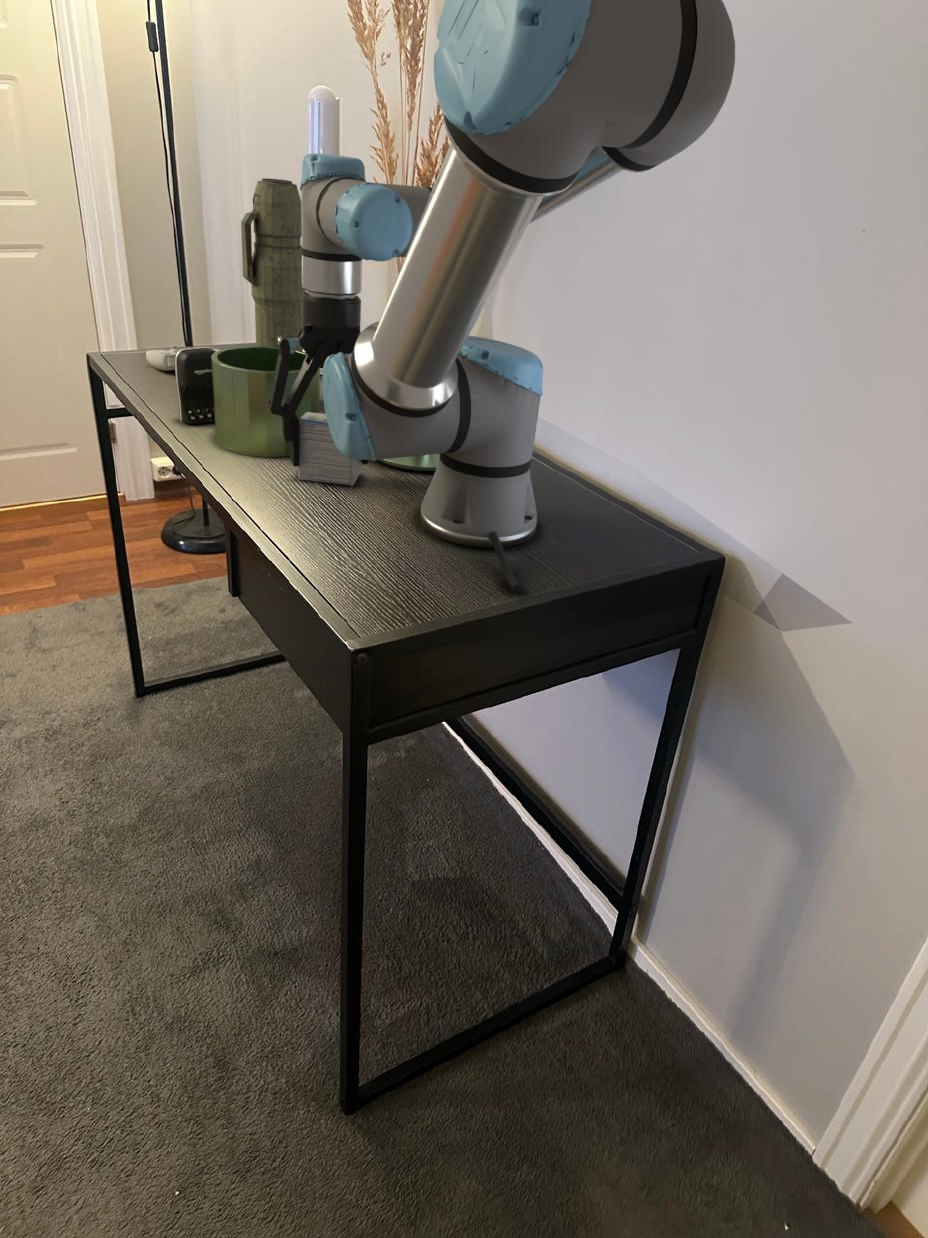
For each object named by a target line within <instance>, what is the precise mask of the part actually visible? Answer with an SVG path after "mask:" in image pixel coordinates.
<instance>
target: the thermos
mask: <svg viewBox="0 0 928 1238" xmlns="http://www.w3.org/2000/svg"><path fill="white" fill-rule="evenodd" d="M252 223H253V225H252ZM252 226H253V233H254V242H252ZM240 230H241V231H240V232H241V233H240V234H241V256H242V259H241V260H242V261H241V262H242V277H243V278H244V279H245V280H246V281H247V282H248V283H250V284H251V296H252V299H253V301H254V316H255V318H254V319H255V321H254V323H255V346H270V347H278V344H277V338H278V336H280V335H283V336H285V337H292V336H298V335H299V333H300V331H301V328H302V295H303V293H304V292H307V290H305V289H304V288H303V287H302V226H301V194H300V192H299V188H298V185H297V184H295V183H293V181H292V180H288V179H281V178H280V179H279V178H261V180H257V181H256V185H255V189H254V193H253V197H252V209H251V212H246V213H244V216H243V218H242V220H241V221H240ZM252 243H253V244H252ZM252 245H253V246H252ZM296 350H299V351H302V352H304V350H303V348H302V347H301V345H299V346H297V347H296Z"/></svg>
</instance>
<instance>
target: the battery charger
mask: <svg viewBox="0 0 928 1238" xmlns="http://www.w3.org/2000/svg"><path fill="white" fill-rule="evenodd" d="M213 349H214V348H212V347H209V346H197V347H186V348H181V349H179V351H178V352H177V353H176V355H175V369H174V376H175V385H176V386H175V387H176V392H177V393H176V394H177V400H178V417H179V420H180V421H181V422H182V423H186V424H189V425H199V424H207V423H208V424H209V423H213V422H214V423H215V413H214V396H213V378H212V361H211V356H212V355H213V354H214V353H215V352H216V351H214V350H213Z"/></svg>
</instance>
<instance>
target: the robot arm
mask: <svg viewBox="0 0 928 1238" xmlns="http://www.w3.org/2000/svg"><path fill="white" fill-rule="evenodd" d="M439 17H440V18H439V22H438V26H437V31H436V38H437V39H438V41H439V44H438V48H437V50H436V51H435V52H434V53H433V79H434V80H433V81H434V89H435V94H436V99H437V101H438V104H439V107H440V109H441V111H442V122H443V127H444V130H445V133H446V135H447V137H448V139H449V142H450V144H449V146H448V149H447V150H446V151H447V152H446V154H445V156H444V159H443V162H442V164H441V166H440V169H439V172H438V174H437V177H436V179H435V182H434V184H433V186H420V185H419V186H418V185H407V184H394V183H379V182H369V181H367V180H366V169H365V164H364V162H363V161H362V160H361V159H360V158H357V157H352V156H344V155H338V154H337V155H336V154H327V153H326V154H325V153H309V154H306V155H305V156H304V157H303V159H302V163H301V177H300V183H299V191H300V199H301V226H302V237H301V246H302V287H303V288H304V289H305V290H306V292H304V293H303V295H302V328H301V331H300V333H299V335H298V336H292V337H285V336H283V335H280V336H278V338H277V344H278V351H279V355H278V360H277V364H276V369H275V374H274V378H273V383H272V388H271V392H270V397H269V402H268V407H269V409H270V411H271V413H272V414H274V415H279V416H281V417H282V435H283V437H284V439H285V441H290V456H289V457H290V462H291V464H292V466H293V467H298V466H299V419H298V417H297V416H296V414H295V412H296V410H297V408H298V406H299V404H300V402H301V400H302V398H303V396H304V394H305V392H306V390H307V388H308V386H309V384H310V382H311V380H312V378H313V376H314V375H315V374H316V373H317V371H318V369H319V367H320V370H322V373H321V375H322V376H321V384H322V385H321V386H322V398H323V407H324V411H325V414H326V417H327V422H328V426H329V429H330V433H331V436H332V438H333V441H334V443H335V445H336V447H337V449H338V450H339V452H340V453H341V454H342V455H343V456H345V457H346V458H348V459H350V460H359V462H361V464H362V465H368V464H369V461H371V462H375V461H378V460H379V459H389V458H400V457H410V456H421V455H431V454H440V456H439V464H438V467H437V469H436V471H434V473H433V476H425V487H426V486H428V488H427V490H426V492H425V495H424V497H423V499H422V503H421V506H420V518H419V519H420V524H421V525H422V526H423V527H424V529H425V530H426V531H428V532H429V533H430V534H432V535H433V536H436V537H437V538H440V539H442V540H445V541H446V542H450V543H453V544H457V545H459V546H465V547H470V548H471V547H472V548H481V549H494V551H495V553H496V556H497V558H498V562H499V564H500V568H501V569H502V572H503V575H504V577H505V580H506V582H507V583H508V585H509V586H510V588H511V590H512V592H513V593H518V592H520V591H521V586H520V584H519V582H518V580H517V579H516V577H515V575H514V572H513V571H512V568H511V566H510V564H509V559H508V558H507V555H506V553H505V549H504V548H508V547H514V546H518V545H521V544H523V543H525V542H528V541H529V540H530V539H531V538H533V537H534V535H535V534H536V531H537V524H538V512H537V506H536V500H535V496H534V490H533V485H532V478H531V467H532V461H533V460H532V459H533V454H534V453H533V452H534V445H535V439H536V432H537V425H538V419H539V411H540V404H541V397H542V396H543V394H544V392H543V383H544V382H543V381H544V380H543V379H544V365H543V362H542V360H541V358H540V357H539V356H538V355H537V354H535V353H534V352H532V351H530V350H528V349H526V348H523V347H521V346H517V345H514V344H512V343H508V342H504V341H500V340H496V339H493V338H492V339H491V338H487V337H483V336H482V337H481V336H476V335H470V334H471V332H472V330H473V328H474V326H475V325H476V323H477V321H478V319H479V317H480V315H481V313H482V312H483V310H484V308H485V306H486V304H487V302H488V301H489V299H490V297H491V295H492V293H493V291H494V289H495V288H496V286H497V284H498V282H499V281H500V278H501V277H502V275H503V273H504V271H505V269H506V268H507V266H508V264H509V262H510V260H511V259H512V256H513V255H514V252H515V250H516V249H517V247H518V245H519V244H520V242H521V239H522V238H523V236H524V234H525V232H526V230H527V229H528V226H529V225H531V224H533V223H535V222H537V221H538V220H540V219H542V218H543V217H545V216H547V215H549V214H550V213H552V212H554V211H555V210H558V209H559V208H561V207H562V206H565V205H566V204H568V203H570V202H571V201H573V200H575V199H577V198H578V197H580V196H582V195H583V194H585V193H587V192H588V191H591V190H592V189H594V188H595V187H598V186H600V185H601V184H603V183H604V182H607V181H609V180H610V179H611V178H613V177H615V176H616V175H618V174H620V173H621V172H623V171H627V172H630V173H644V172H648V171H650V170H652V169H654V168H655V167H657V166H660V165H661V164H663V163H664V162H665V163H666V161H668V160H670V159H672V158H673V157H675V156H677V155H678V154H681V153H682V152H683V151H684V150H686V149H687V148H688V147H690V146H691V145H693V144H694V143H695V142H697V141H698V140H699V138H701V137H702V136H703V135H704V134H705V132H706V131H707V130H708V129H709V128H710V127H711V126H712V124H713V123H714V121H715V119H716V118H717V116H718V115H719V113H720V111H721V109H722V107H723V106H724V104H725V103H726V100H727V97H728V94H729V91H730V89H731V86H732V82H733V77H734V71H735V64H736V40H735V34H734V29H733V28H734V27H733V23H732V20H731V18H730V15H729V13H728V10H727V8H726V6H725V3H724V1H723V0H445V2H444V4H443V8H442V11H441V14H440V16H439ZM395 258H404V260H403V262H402V265H401V267H400V269H399V272H398V275H397V278H396V280H395V282H394V285H393V288H392V290H391V293H390V295H389V298H388V300H387V303H386V305H385V307H384V310H383V313H382V316H381V318H380V320H378V321H375V322H373V323H371V324H369V325H368V326H366V327H365V328H364V329H363V330H362V331H361V320H362V318H361V317H362V300H361V298H360V296H359V295H358V294H360V293H361V292H362V286H363V285H362V283H363V260H365V261H374V262H387V261H391V260H392V259H395ZM299 345H301V347H302V348H303V352H306V354H307V356H306V358H305V360H304V362H303V365H302V368H301V370H300V372H299V374H298V376H297V378H296V380H295V382H294V384H293V386H292V388H291V390H290V392H289V394H288V396H287V398H286V400H285V403H284V405H282V404H281V403H282V399H283V394H284V390H285V385H286V381H287V376H288V372H289V367H290V362H291V355H293V354H294V353H295V351H296V347H297V346H299Z"/></svg>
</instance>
